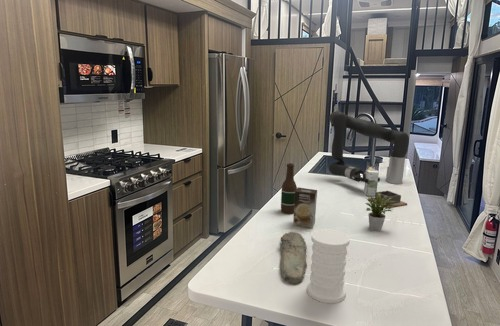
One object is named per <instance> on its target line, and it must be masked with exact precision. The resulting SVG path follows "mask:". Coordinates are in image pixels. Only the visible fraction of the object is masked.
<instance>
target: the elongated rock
mask: <svg viewBox="0 0 500 326" xmlns="http://www.w3.org/2000/svg"><path fill="white" fill-rule="evenodd" d="M280 242H281V246H280V247H281V258H280V271H281V274H282V279H283V280H285V283H288V284H290V285H297V284H301V283H302V282H303V280H304V278H305V277H304V276H305V275H306V269H307V268H308V264H307V252H308V251H307V250H308V249H307V247H308V246H307V243H306V241H305V238H304V236H303V235H302V234H301V233H299V232H295V231H290V232H288V233H284V234H283V235H282V236H281V237H280Z"/></svg>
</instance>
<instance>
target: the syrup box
mask: <svg viewBox="0 0 500 326" xmlns="http://www.w3.org/2000/svg"><path fill="white" fill-rule="evenodd" d="M365 173H366V177H365V178H366V179H368V183H365V182H364V187H363V194H364V196H365V197H370V196H372V197H375V194H376V192H378V190H377V189H378V177H379V171H378V170H377V169H366V170H365Z"/></svg>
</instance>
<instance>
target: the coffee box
mask: <svg viewBox="0 0 500 326" xmlns="http://www.w3.org/2000/svg"><path fill="white" fill-rule="evenodd" d="M317 198H318V189H312V188H304V187H298V186H297V189H296V191H295V202H294V213H293V220H292V226H295V227H300V228H301V227H302V228H305V229H313V228H314V226H315V224H316V211H317Z"/></svg>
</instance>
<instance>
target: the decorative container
mask: <svg viewBox="0 0 500 326" xmlns="http://www.w3.org/2000/svg"><path fill="white" fill-rule="evenodd" d="M311 242H312V246H311V250H312V254H311V258H310V259H311V265H310V271H311V272H310V275H309V279H310V281H308V283H307V284H306V292H307V294H308V296H309V297H310V298H312V299H314V300H315V301H318V302H320V303H324V304H325V303H326V304H337V303H341V302H342V301H344V300H345V299H346V295H347V289H346V287H345V274H346V268H345V267H346V264H347V257H346V256H347V255H348V248H347V247H348V246H349V245H350V237H349V235H347V234H346V233H345V232H342V231H340V230H336V229H330V228H329V229H328V228H325V229H324V228H321V229H316V230H314V231H313V232H312V233H311Z"/></svg>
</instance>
